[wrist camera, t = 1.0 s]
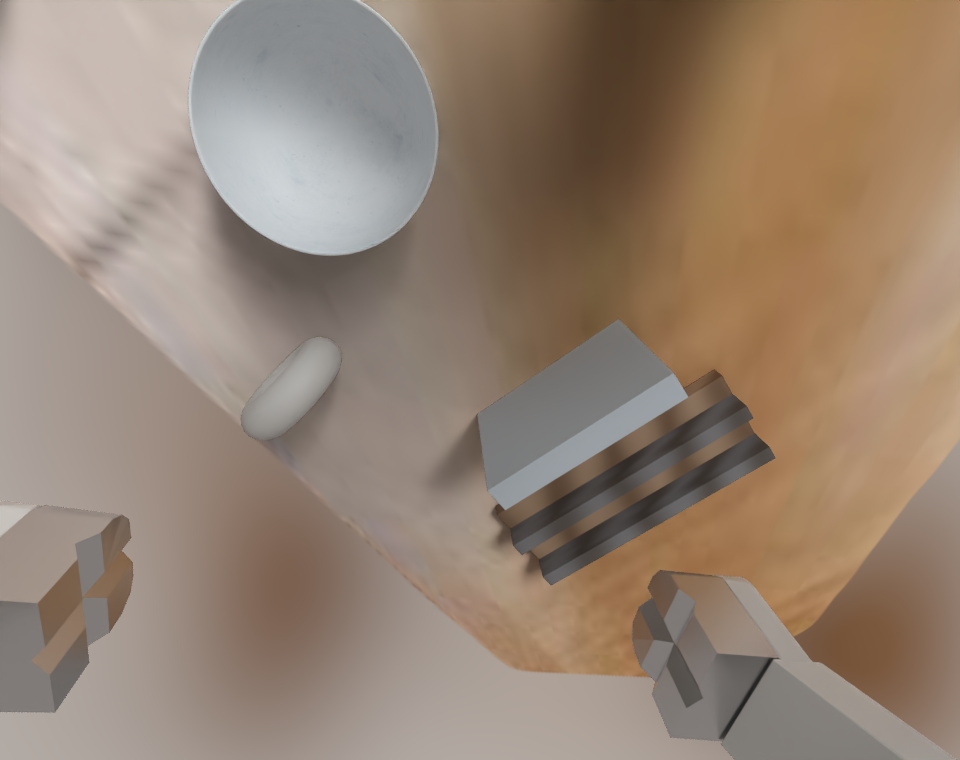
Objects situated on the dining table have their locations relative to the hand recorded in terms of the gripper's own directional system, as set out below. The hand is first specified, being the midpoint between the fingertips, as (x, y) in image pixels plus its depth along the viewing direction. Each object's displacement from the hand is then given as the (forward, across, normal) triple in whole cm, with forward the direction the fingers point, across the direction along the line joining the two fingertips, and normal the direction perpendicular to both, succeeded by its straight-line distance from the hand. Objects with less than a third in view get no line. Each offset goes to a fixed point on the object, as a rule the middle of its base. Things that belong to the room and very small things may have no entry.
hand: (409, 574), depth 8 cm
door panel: (+37, -14, +10) cm, 41 cm away
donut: (+38, +8, +13) cm, 41 cm away
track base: (+37, -25, +20) cm, 49 cm away
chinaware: (+37, +8, -6) cm, 38 cm away
